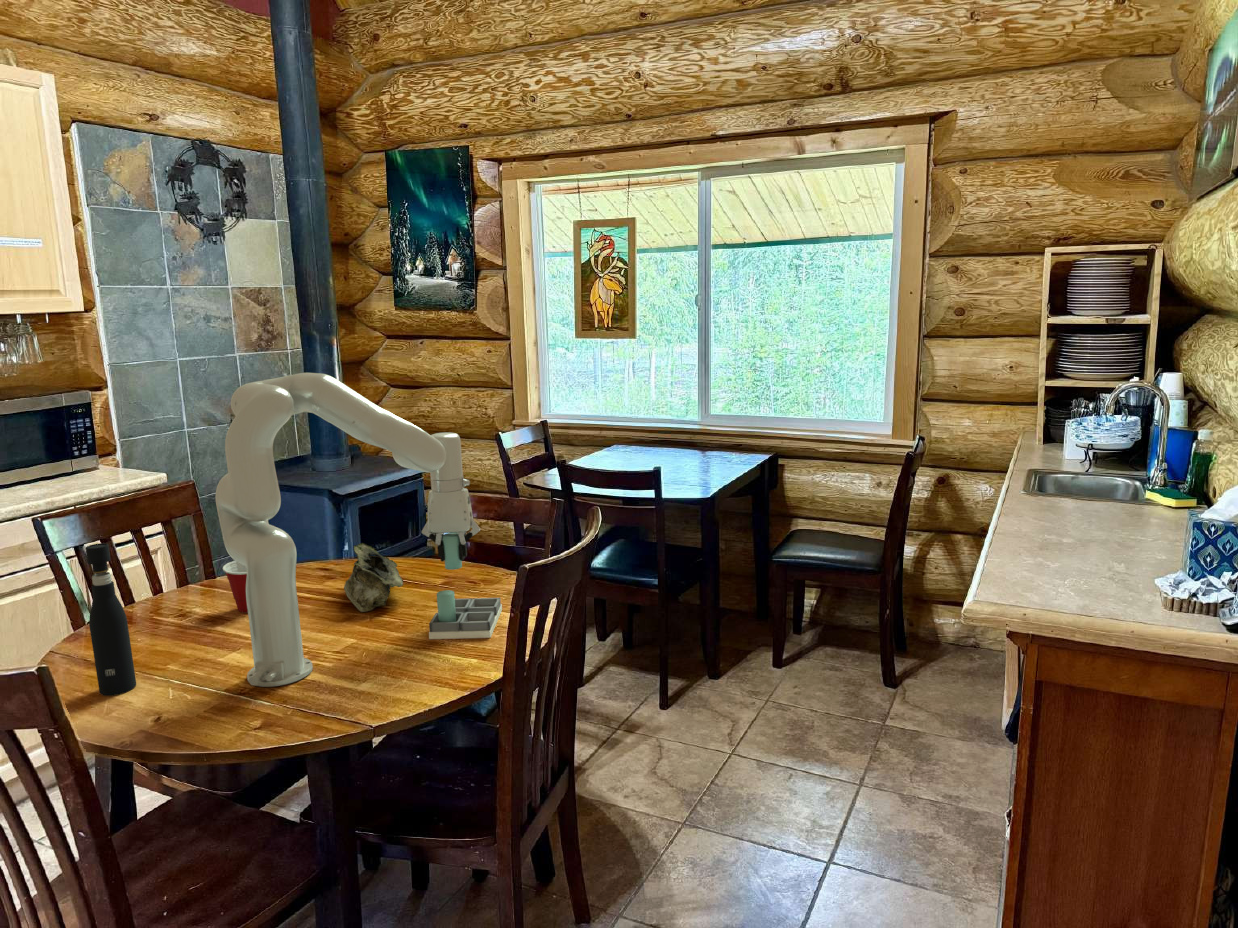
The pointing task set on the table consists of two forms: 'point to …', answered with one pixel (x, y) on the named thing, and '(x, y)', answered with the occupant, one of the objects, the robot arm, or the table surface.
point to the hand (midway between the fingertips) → (453, 558)
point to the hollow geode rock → (371, 579)
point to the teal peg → (452, 551)
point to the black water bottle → (109, 628)
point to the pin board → (464, 617)
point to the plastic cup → (237, 583)
